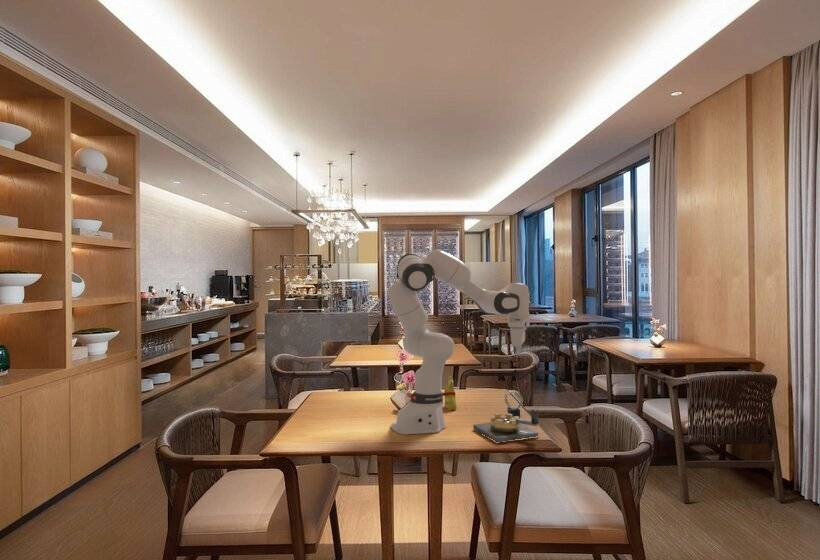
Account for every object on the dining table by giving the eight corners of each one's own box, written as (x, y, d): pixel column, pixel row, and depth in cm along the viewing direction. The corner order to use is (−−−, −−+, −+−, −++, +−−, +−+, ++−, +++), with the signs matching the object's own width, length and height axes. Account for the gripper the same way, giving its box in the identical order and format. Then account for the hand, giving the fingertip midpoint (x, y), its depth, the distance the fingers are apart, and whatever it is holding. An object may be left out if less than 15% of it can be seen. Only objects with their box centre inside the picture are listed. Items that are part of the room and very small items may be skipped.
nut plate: (497, 443, 174) (497, 437, 174) (473, 429, 191) (473, 424, 191) (538, 437, 181) (538, 431, 181) (511, 424, 198) (511, 419, 198)
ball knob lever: (486, 429, 184) (486, 406, 184) (497, 421, 194) (497, 400, 194) (533, 437, 174) (533, 414, 174) (542, 429, 184) (542, 407, 184)
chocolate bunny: (452, 404, 230) (452, 373, 230) (458, 410, 219) (458, 378, 219) (438, 405, 229) (438, 374, 229) (443, 411, 218) (443, 378, 218)
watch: (524, 417, 209) (524, 392, 209) (506, 417, 208) (506, 392, 208) (521, 413, 214) (521, 389, 214) (503, 413, 214) (503, 389, 214)
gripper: (513, 319, 209) (513, 350, 209) (508, 323, 189) (508, 358, 189) (528, 319, 207) (528, 351, 207) (524, 323, 187) (524, 358, 187)
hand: (518, 354), depth 198 cm, fingers closed
